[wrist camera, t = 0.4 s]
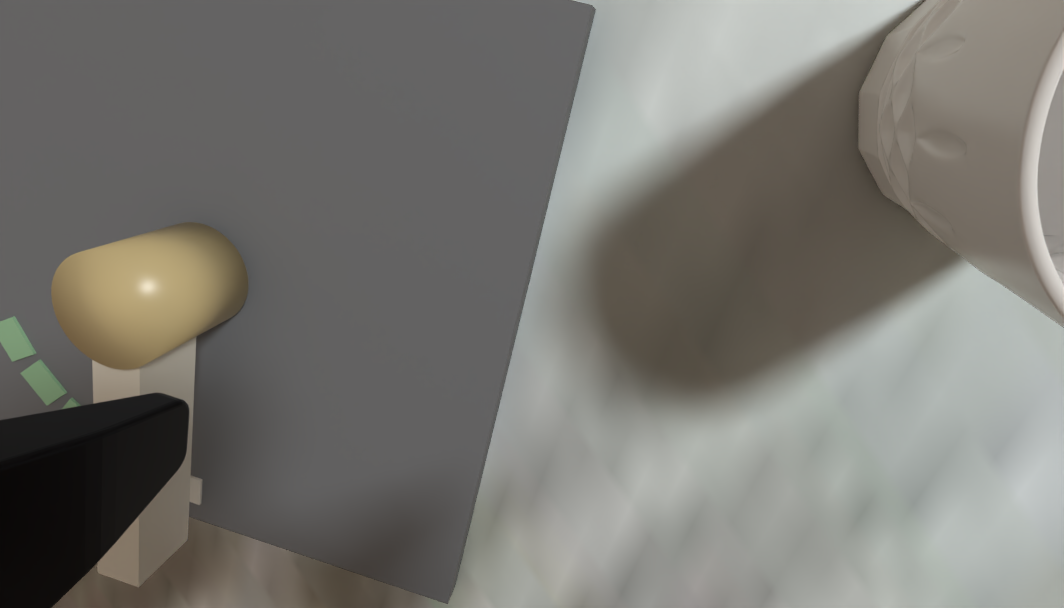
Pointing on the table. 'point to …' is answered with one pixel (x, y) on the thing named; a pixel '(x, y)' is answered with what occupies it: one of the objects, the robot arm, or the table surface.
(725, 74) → the table surface
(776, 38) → the table surface
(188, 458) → the beige and tan rod
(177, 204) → the grey flat square plate
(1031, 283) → the white cup
